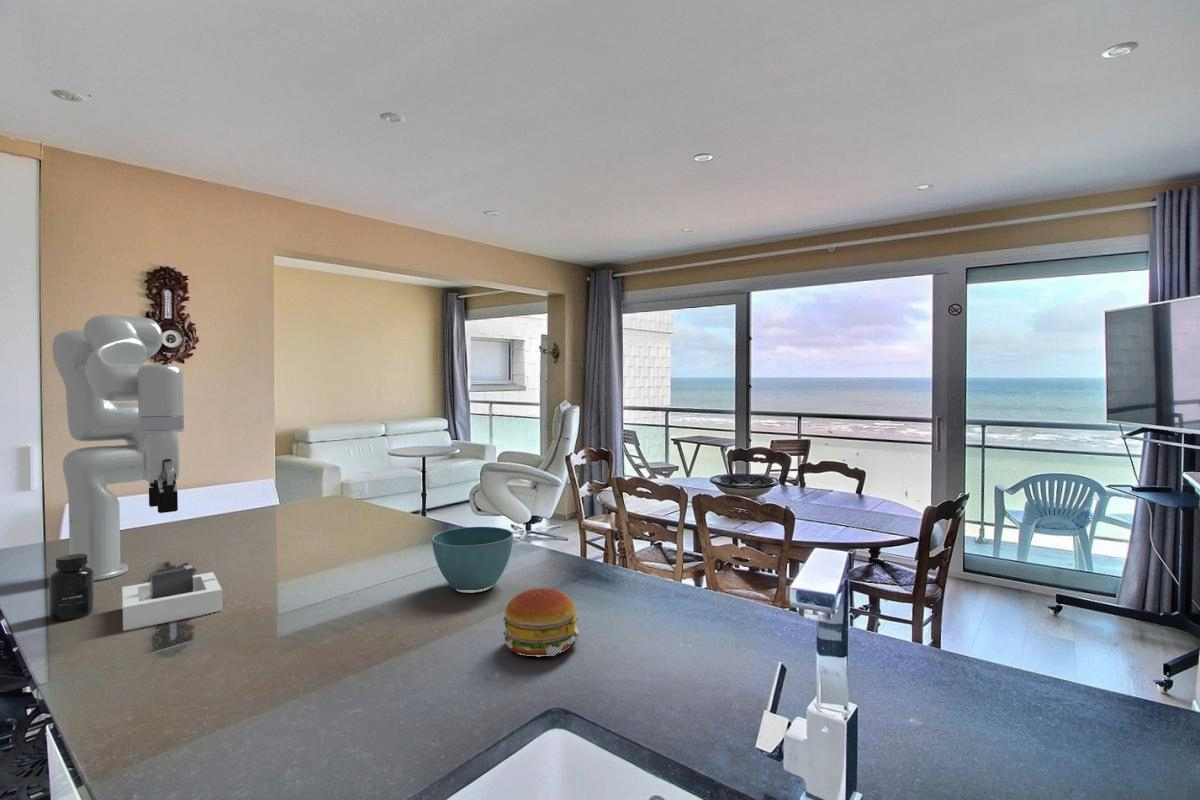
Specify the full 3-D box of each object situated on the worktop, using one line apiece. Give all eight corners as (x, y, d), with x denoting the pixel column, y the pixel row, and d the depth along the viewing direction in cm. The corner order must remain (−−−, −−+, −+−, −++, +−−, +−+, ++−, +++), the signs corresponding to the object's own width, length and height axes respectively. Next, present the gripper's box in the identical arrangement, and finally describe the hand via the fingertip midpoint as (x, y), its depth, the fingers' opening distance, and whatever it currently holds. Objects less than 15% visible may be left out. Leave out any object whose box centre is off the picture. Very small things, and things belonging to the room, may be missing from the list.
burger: (495, 638, 110) (494, 584, 110) (564, 626, 115) (564, 575, 115) (514, 670, 98) (514, 609, 97) (590, 655, 103) (590, 598, 103)
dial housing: (122, 608, 125) (122, 586, 125) (213, 591, 135) (213, 571, 135) (123, 631, 113) (122, 606, 113) (222, 611, 123) (222, 588, 123)
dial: (151, 613, 117) (150, 579, 117) (139, 602, 123) (139, 570, 123) (204, 600, 124) (203, 568, 124) (190, 591, 130) (190, 560, 130)
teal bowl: (415, 595, 132) (415, 540, 132) (463, 572, 149) (463, 523, 149) (485, 606, 126) (484, 548, 125) (527, 580, 142) (527, 529, 142)
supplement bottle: (67, 623, 117) (66, 562, 116) (39, 620, 118) (38, 560, 118) (103, 610, 123) (102, 553, 123) (76, 608, 125) (75, 551, 125)
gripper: (131, 424, 125) (133, 506, 125) (145, 427, 113) (147, 517, 113) (175, 423, 130) (176, 501, 131) (192, 425, 118) (194, 511, 119)
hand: (163, 508), depth 122 cm, fingers open, 9 cm apart
